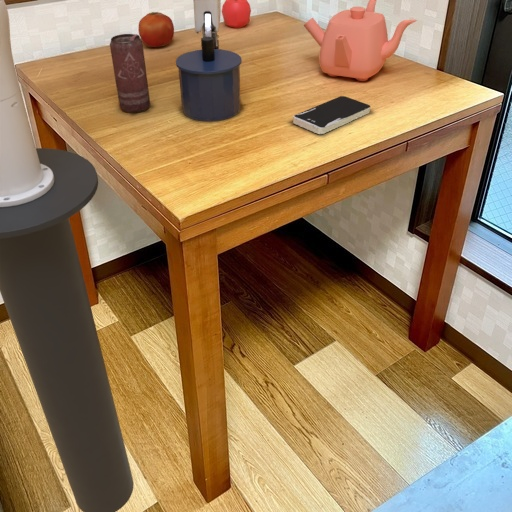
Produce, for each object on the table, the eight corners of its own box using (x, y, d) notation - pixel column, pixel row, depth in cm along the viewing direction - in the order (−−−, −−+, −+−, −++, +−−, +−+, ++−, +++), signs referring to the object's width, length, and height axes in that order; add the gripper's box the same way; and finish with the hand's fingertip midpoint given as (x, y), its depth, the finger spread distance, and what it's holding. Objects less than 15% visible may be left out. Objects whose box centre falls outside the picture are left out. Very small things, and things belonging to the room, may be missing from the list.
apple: (216, 26, 164) (214, -5, 159) (235, 19, 169) (234, -11, 164) (238, 31, 160) (237, 0, 155) (257, 24, 165) (256, -6, 160)
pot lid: (202, 82, 108) (200, 54, 104) (163, 64, 115) (160, 37, 112) (255, 66, 114) (254, 39, 111) (215, 50, 122) (213, 24, 119)
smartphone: (372, 106, 117) (321, 129, 109) (371, 112, 118) (320, 135, 110) (342, 95, 122) (291, 116, 114) (342, 101, 122) (290, 123, 114)
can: (157, 105, 122) (149, 35, 113) (136, 116, 118) (126, 44, 109) (135, 99, 125) (125, 30, 116) (113, 109, 120) (102, 39, 112)
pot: (205, 126, 114) (202, 78, 108) (171, 108, 121) (166, 61, 115) (252, 109, 119) (251, 63, 114) (216, 93, 127) (214, 48, 121)
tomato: (147, 53, 147) (143, 19, 142) (135, 42, 154) (130, 10, 149) (182, 47, 151) (179, 14, 146) (168, 37, 157) (165, 5, 152)
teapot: (369, 53, 145) (375, -7, 137) (409, 79, 131) (418, 14, 123) (300, 63, 140) (302, 1, 132) (334, 91, 126) (338, 24, 118)
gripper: (189, -40, 122) (196, 49, 134) (184, -21, 109) (191, 76, 120) (226, -41, 123) (229, 49, 134) (224, -22, 109) (228, 76, 121)
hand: (211, 61), depth 127 cm, fingers closed on flask, 3 cm apart
